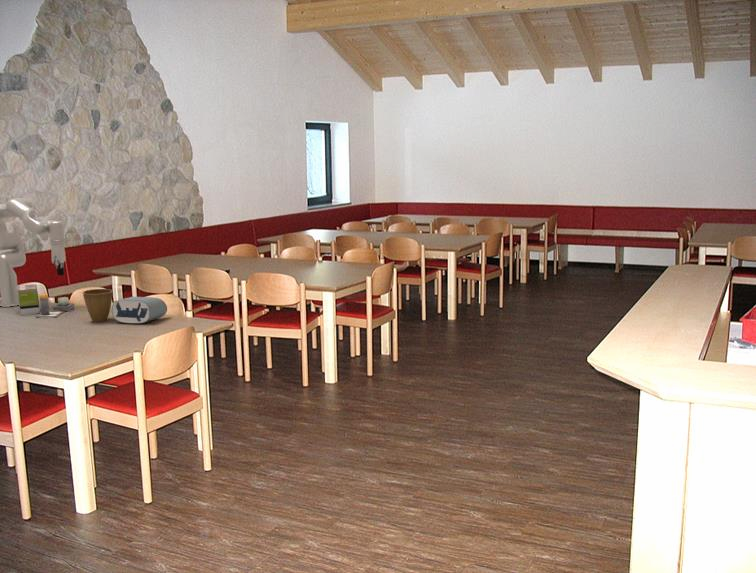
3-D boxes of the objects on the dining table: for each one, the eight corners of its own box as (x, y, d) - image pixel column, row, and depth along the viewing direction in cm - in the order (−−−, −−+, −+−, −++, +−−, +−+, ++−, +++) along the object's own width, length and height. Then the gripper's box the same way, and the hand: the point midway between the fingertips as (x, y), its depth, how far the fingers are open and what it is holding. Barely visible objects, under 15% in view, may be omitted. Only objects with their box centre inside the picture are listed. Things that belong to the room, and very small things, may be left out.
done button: (60, 304, 438) (59, 297, 437) (69, 303, 438) (68, 297, 438) (57, 305, 433) (56, 299, 432) (66, 305, 434) (65, 298, 433)
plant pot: (81, 324, 400) (78, 294, 397) (90, 317, 414) (88, 288, 411) (109, 323, 400) (107, 293, 397) (118, 317, 415) (116, 288, 412)
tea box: (20, 310, 437) (17, 285, 434) (39, 309, 441) (36, 283, 438) (20, 315, 423) (17, 289, 421) (40, 313, 428) (37, 287, 425)
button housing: (58, 308, 440) (57, 303, 440) (74, 308, 441) (73, 303, 441) (53, 311, 432) (52, 306, 431) (69, 311, 432) (68, 306, 432)
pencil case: (112, 323, 399) (111, 299, 398) (132, 317, 418) (131, 294, 416) (150, 324, 394) (149, 300, 392) (168, 318, 412) (167, 295, 411)
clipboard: (44, 312, 430) (44, 310, 430) (64, 312, 431) (64, 309, 430) (35, 318, 416) (35, 315, 416) (56, 317, 417) (56, 314, 417)
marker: (43, 313, 423) (40, 293, 421) (50, 313, 423) (48, 293, 421) (40, 315, 419) (38, 295, 417) (48, 315, 419) (46, 294, 417)
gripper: (55, 241, 437) (58, 273, 440) (46, 244, 422) (49, 277, 425) (68, 241, 437) (71, 272, 440) (60, 244, 422) (63, 276, 426)
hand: (60, 275), depth 433 cm, fingers closed
